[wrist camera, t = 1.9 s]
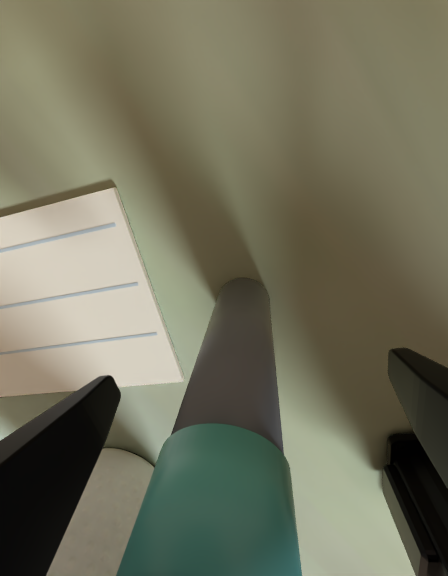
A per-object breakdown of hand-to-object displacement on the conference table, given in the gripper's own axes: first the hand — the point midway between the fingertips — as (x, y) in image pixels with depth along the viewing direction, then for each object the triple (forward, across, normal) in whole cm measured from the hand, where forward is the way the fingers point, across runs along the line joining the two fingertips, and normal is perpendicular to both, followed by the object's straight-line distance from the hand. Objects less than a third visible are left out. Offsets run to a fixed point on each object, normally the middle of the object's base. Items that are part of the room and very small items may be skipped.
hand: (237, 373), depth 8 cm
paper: (+5, +12, -1) cm, 13 cm away
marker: (+5, 0, 0) cm, 5 cm away
